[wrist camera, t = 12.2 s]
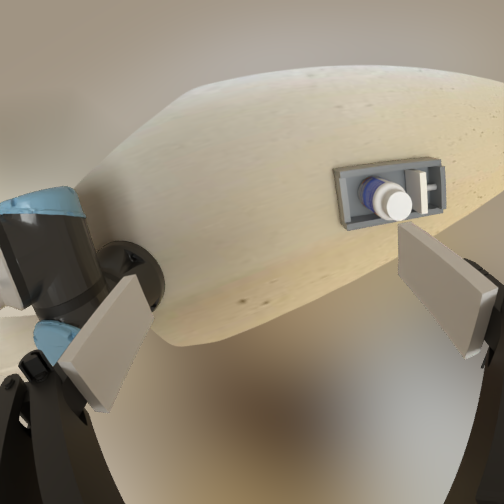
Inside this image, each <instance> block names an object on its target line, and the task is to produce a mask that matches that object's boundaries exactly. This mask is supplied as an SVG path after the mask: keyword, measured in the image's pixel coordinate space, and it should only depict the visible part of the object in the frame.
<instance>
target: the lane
mask: <svg viewBox="0 0 504 504" xmlns="http://www.w3.org/2000/svg"><path fill="white" fill-rule="evenodd" d="M406 169H417V170H420V171H424V172H426V180H427V185H429V184H436V185H437V189H436V190H431V191H427V199H428V213H427V214H420V213H418V212H417V211H415V210H413V209H412V210H411V212H410V214H409V216H408V217H407V218H406V219H404V220H408V219H413V218H419V217H424V216H429V215H435V214H440V213H443V209H446V179H445V166H441V159H436V158H431V157H424V158H413V159H404V160H395V161H386V162H378V163H370V164H363V165H356V166H349V167H342V168H336V169H333V171H334V177H335V183H336V190H337V197H338V205H339V213H340V221H341V224H342V225H343V227H344V228H345V229H346V230H347V231H350V230H355V229H360V228H366V227H371V226H376V225H382V224H387V223H392V222H397V221H396V220H385V219H382V218H381V217H379V216H378V215H376V214H375V213H374V212H372V211H371V210H369V209H368V208H366V207H365V206H364V205H363V204H362V203H361V201H360V199H359V196H358V190H359V187H360V184H361V183H362V181H363V180H364V179H366V178H367V177H370V176H377V177H380V178H383V179H386V180H388V181H391V182H394V183H396V184H399V185H400V186H401V187H402V188H403V189H404V190H405V192H406V179H405V170H406ZM406 193H407V192H406ZM401 221H403V220H401Z"/></svg>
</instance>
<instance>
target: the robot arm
mask: <svg viewBox="0 0 504 504" xmlns="http://www.w3.org/2000/svg"><path fill="white" fill-rule="evenodd" d="M85 218H86V215H85V214H84V213H83V211H82V208H81V205H80V201H79V198H78V195H77V193H76V192H75V190H74V189H72V188H70V187H68V186H61V187H54V188H49V189H44V190H39V191H35V192H32V193H28V194H24V195H21V196H18V197H15V198H13V199H9V200H6V201H3V202H1V203H0V310H1V309H2V308H3V307H5V306H10V307H13V308H16V309H18V310H23V309H25V308H27V307H29V306H30V305H32V306H33V308H34V310H35V312H36V315H37V316H38V318H39V321H40V322H38V323H37V324H36V326H35V329H34V332H33V334H34V337H33V338H34V342H35V344H36V346H37V348H38V350H34V351H31V352H29V353H28V354H26V355H25V356H24V357H23V358H22V359H21V361H20V362H19V365H18V367H19V368H20V370H21V371H22V372H23V374H24V375H25V376H26V378H27V379H28V381H29V382H25V383H24V381H23V380H22V379H21V377H20V376H19V375H18V374H12V375H9V376H7V377H6V378H5V379H4V381H3V382H2V384H1V386H0V504H125V503H124V501H123V499H122V497H121V495H120V493H119V491H118V489H117V486H116V484H115V482H114V480H113V478H112V476H111V473H110V471H109V469H108V466H107V464H106V461H105V459H104V456H103V454H102V451H101V448H100V446H99V443H98V440H97V438H96V435H95V432H94V429H93V426H92V422H91V419H90V416H89V413H88V412H87V411H86V409H85V408H84V407H85V405H86V403H87V402H88V404H90V406H91V407H92V408H93V409H94V411H96V412H103V413H110V410H111V408H112V406H113V404H114V401H115V399H116V397H117V395H118V393H119V390H120V388H121V386H122V384H123V381H124V380H125V378H126V375H127V373H128V371H129V369H130V367H131V365H132V363H133V361H134V359H135V357H136V354H137V352H138V351H139V349H140V346H141V344H142V342H143V340H144V338H145V336H146V334H147V332H148V330H149V329H150V327H151V325H152V323H153V321H154V319H155V318H154V316H153V314H152V312H153V311H154V310H155V309H156V308H157V307H158V305H159V303H160V301H161V299H162V297H163V295H164V290H165V282H164V277H163V273H162V271H161V269H160V267H159V265H158V263H157V262H156V260H155V259H154V258H153V257H152V256H151V255H150V254H149V253H148V252H147V251H146V250H145V249H143V248H142V247H140V246H138V245H136V244H133V243H130V242H126V241H115V242H111V243H109V244H107V245H105V246H104V247H103V248H101V249H100V250H99V251H98V252H97V253H96V252H95V249H94V245H93V242H92V239H91V236H90V233H89V229H88V226H87V222H86V219H85ZM398 275H399V276H400V277H401V278H402V279H403V281H404V282H405V283H406V284H407V286H408V287H409V288H410V289H411V290H412V292H413V293H414V294H415V295H416V296H417V297H418V299H419V300H420V301H421V303H422V304H423V305H424V306H425V307H426V309H427V310H428V311H429V313H430V314H431V315H432V316H433V318H434V319H435V320H436V321H437V323H438V324H439V325H440V327H441V328H442V329H443V331H444V332H445V333H446V335H447V336H448V337H449V339H450V340H451V341H452V343H453V344H454V346H455V347H456V348H457V350H458V351H459V353H460V354H461V355H462V357H463V358H464V359H467V358H469V357H471V356H473V355H476V354H478V353H479V352H480V350H481V347H482V344H483V341H484V340H485V341H486V343H487V344H488V345H489V348H488V351H487V354H486V356H485V358H484V361H483V364H482V366H481V368H484V365H485V368H484V376H483V381H482V387H481V392H480V397H479V402H478V406H477V411H476V415H475V419H474V423H473V426H472V430H471V433H470V437H469V440H468V443H467V446H466V449H465V452H464V456H463V458H462V461H461V464H460V466H459V469H458V472H457V474H456V477H455V479H454V482H453V484H452V487H451V489H450V491H449V493H448V495H447V498H446V500H445V502H444V504H504V285H503V284H501V283H500V282H499V281H498V280H497V279H495V278H494V277H493V276H492V275H490V274H489V273H488V272H487V271H486V270H483V268H482V267H480V266H479V265H478V264H476V263H475V262H473V261H471V260H468V259H465V258H464V259H463V258H461V257H460V256H458V255H457V254H456V253H454V252H453V251H452V250H451V249H449V248H448V247H446V246H445V245H444V244H443V243H441V242H440V241H438V240H437V239H435V238H434V237H433V236H431V235H430V234H429V233H427V232H426V231H424V230H423V229H421V228H420V227H418V226H417V225H415V224H414V223H412V222H406V223H400V224H398ZM19 416H21V417H22V418H23V419H24V420H25V421H26V423H28V427H27V428H26V427H24V426H23V425H22V424H21V423H20V421H19Z"/></svg>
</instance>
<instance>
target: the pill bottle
mask: <svg viewBox="0 0 504 504" xmlns="http://www.w3.org/2000/svg"><path fill="white" fill-rule="evenodd" d="M358 196H359V199H360V201H361V203H362V204H363V205H364V206H365V207H366V208H368V209H369V210H371V211H372V212H374V213H375V214H376V215H378V216H379V217H381V218H382V219H385V220H396V221H401V220H404V219H406V218H407V217H408V216H409V214H410V212H411V210H412V200H411V198H410V196H409V195H408V194H407V193H406V192H405V190H404V189H403V188H402V187H401V186H400V185H399V184H396V183H394V182H391V181H388V180H386V179H383V178H380V177H377V176H370V177H367V178H366V179H364V180H363V181H362V183H361V184H360V187H359V190H358Z"/></svg>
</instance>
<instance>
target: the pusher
mask: <svg viewBox="0 0 504 504" xmlns="http://www.w3.org/2000/svg"><path fill="white" fill-rule="evenodd" d="M405 179H406V192H407V194H408V195H409V196H410V198H411V200H412V209H413V210H415V211H417V212H418V213H420V214H427V213H428V199H427V191H431V190H436V189H437V185H436V184H429V185H427V180H426V172H424V171H420V170H417V169H406V170H405Z"/></svg>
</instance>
